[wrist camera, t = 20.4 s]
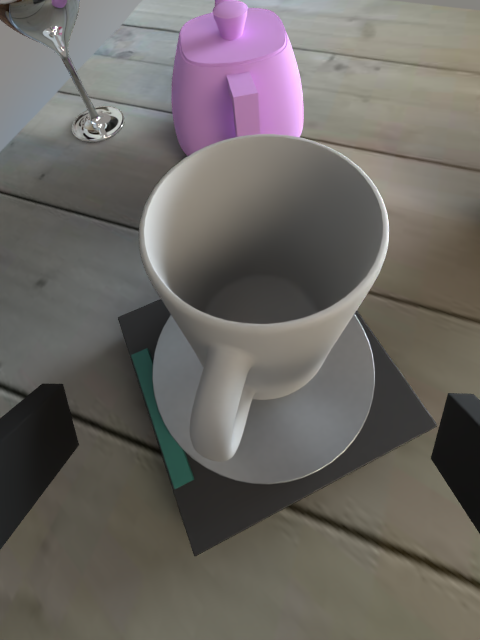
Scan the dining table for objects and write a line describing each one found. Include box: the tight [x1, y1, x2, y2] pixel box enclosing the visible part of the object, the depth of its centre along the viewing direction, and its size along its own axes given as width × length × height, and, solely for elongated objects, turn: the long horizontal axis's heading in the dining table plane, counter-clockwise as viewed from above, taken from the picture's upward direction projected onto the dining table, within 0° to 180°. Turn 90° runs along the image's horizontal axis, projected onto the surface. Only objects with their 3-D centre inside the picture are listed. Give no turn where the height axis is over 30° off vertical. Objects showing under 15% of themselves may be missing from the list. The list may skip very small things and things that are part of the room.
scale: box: [118, 299, 437, 556], centre depth 22 cm, size 16×16×4 cm
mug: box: [139, 134, 389, 462], centre depth 15 cm, size 12×8×11 cm
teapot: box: [172, 0, 303, 156], centre depth 30 cm, size 13×20×11 cm, turn 7°
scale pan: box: [152, 314, 375, 484], centre depth 20 cm, size 14×14×1 cm
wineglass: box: [0, 0, 125, 143], centre depth 29 cm, size 8×8×18 cm
